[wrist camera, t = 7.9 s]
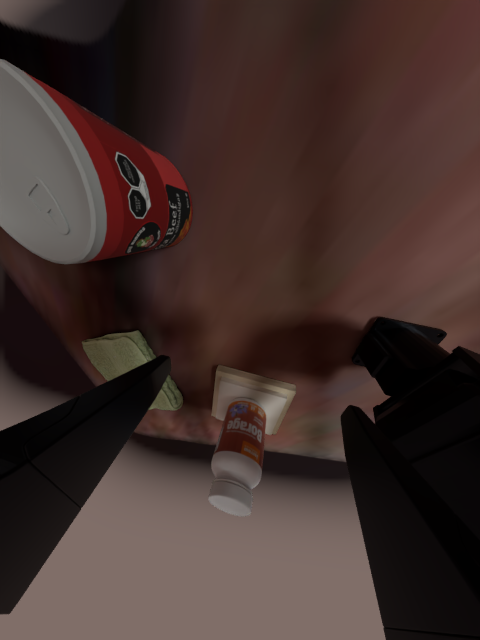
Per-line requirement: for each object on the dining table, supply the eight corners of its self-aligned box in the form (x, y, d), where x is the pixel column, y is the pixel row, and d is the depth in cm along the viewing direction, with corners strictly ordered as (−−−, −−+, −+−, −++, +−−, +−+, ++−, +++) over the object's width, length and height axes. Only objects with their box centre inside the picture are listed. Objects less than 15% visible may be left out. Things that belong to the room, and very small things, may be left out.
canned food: (168, 260, 20) (70, 290, 11) (113, 200, 18) (-67, 172, 9) (211, 209, 17) (122, 188, 7) (148, 128, 15) (-83, -45, 5)
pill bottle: (270, 403, 25) (265, 508, 16) (262, 425, 28) (253, 525, 19) (230, 391, 26) (202, 486, 17) (226, 414, 29) (200, 505, 20)
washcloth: (142, 323, 27) (125, 334, 24) (189, 399, 34) (181, 415, 31) (88, 335, 31) (69, 346, 28) (140, 401, 38) (129, 415, 35)
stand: (295, 385, 25) (296, 396, 24) (275, 427, 31) (275, 439, 30) (218, 364, 27) (214, 374, 25) (213, 409, 33) (210, 419, 31)
